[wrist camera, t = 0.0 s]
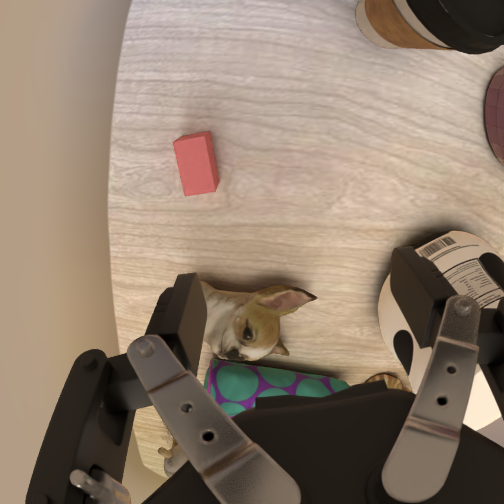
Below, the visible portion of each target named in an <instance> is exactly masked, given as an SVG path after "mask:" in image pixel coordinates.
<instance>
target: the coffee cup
mask: <svg viewBox="0 0 504 504" xmlns="http://www.w3.org/2000/svg"><path fill="white" fill-rule="evenodd" d="M355 15H356V21H357V24H358V27H359V28H360V30H361V32H362V33H363V34H364V36H365V37H366V38H367V39H368V40H370V41H371V42H373V43H374V44H376V45H378V46H381V47H384V48H390V49H395V48H415V49H438V50H457V51H459V52H463V53H467V54H482V53H486V52H491V51H493V50H495V49H497V48H498V47H500V46H501V45H504V0H360V2H359V3H358V5H357V8H356V14H355Z"/></svg>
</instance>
